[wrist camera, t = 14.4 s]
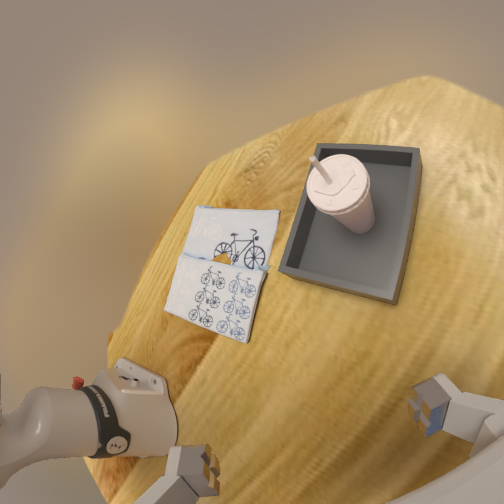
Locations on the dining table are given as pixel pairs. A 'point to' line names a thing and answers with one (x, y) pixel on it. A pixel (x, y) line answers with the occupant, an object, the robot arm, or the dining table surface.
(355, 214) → the smoothie
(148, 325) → the dining table surface
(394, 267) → the tray
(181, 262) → the folded bicycle print cloth
